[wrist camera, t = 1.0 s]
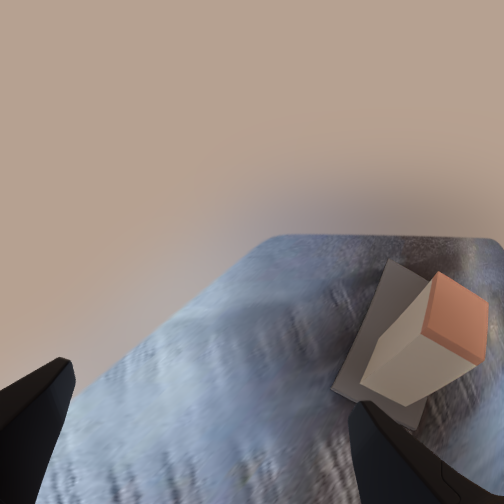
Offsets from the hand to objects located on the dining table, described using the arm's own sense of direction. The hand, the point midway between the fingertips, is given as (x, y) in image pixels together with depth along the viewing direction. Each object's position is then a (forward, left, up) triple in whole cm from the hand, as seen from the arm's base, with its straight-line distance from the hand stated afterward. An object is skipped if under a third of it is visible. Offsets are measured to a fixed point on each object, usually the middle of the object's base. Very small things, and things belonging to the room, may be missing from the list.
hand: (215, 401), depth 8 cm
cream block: (-6, -15, -14) cm, 21 cm away
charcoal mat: (-5, -19, -14) cm, 24 cm away
